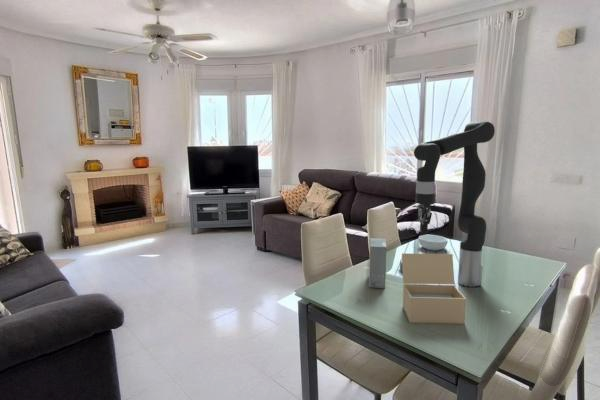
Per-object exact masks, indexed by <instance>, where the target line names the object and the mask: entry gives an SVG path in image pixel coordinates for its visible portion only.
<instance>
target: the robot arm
mask: <svg viewBox="0 0 600 400" xmlns="http://www.w3.org/2000/svg"><path fill="white" fill-rule="evenodd" d="M495 129H496V128H495V126H494V124H493V123H492V122H491V121H486V120H485V121H471V122H469V123H467V124H465V127H464V130H463V132H458V133H453V134H452V133H451V134H448V135H446V136H443V137H440V138H438V139H435V140H430V141H426V142H422V143H419V144H418V145H416V146H415V148H414V150H413V155H414V157H415V159H416V160H418V161H421V162H424V164H423V166H420V167H418V169H417V172H416V173H417V174H416V183H415V185H416V187H415V203H416V204H419V206H417V215H418V216H417V217H418V221H419V231H420V232H421V234H428V226H429V225H430V224H431V219H432V216H433V213H432V212H431V210H432V209H431V207H430V205H433V204H435V200H436V171H437V168H438V165H439V161H440V159H441V156H444V155H446V154H450V153H452V152H455V151H456V150H457V151H458V150H461V149H463V172H462V185H461V186H462V187H461V199H460V207H459V211H458V212H459V213H458V219H457V226H458V229H459V231H461V232H463V233H465V234H467V236H466V240H465V239H464V240H461V241H460V244H459V257H458V258H459V259H458V274H457V275H458V276H457V283H458V284H459V285H461V286H463V285H464V287H467V286H469V287H468V288H477V287H480V286H479V285H481V286H482V280H483V278H482V277H483V266H482V253H483V246H484V244H485V240H486V233H487V222H486V220H485V218H484V217H481V216H479V215H475V209H476V204H477V202H478V201H477V200H478V199H479V197H480V196H481V195H482V193H483V192H484V190H485V187H486V175H487V174H486V169H485V166H484V165H483V163H482V161H481V159H480V157H479V153H478V144H484V143H489V142H490V141H491V140H492V139H493V138H494V135H495V133H496V132H495V131H496V130H495ZM476 286H477V287H476Z"/></svg>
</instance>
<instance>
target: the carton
mask: <svg viewBox="0 0 600 400" xmlns="http://www.w3.org/2000/svg"><path fill="white" fill-rule="evenodd" d="M402 292H403V293H402V309H403V311H404V313H405V316H406V318H407V320H408V323H419V324H444V325H445V324H447V325H448V324H449V325H451V324H452V325H465V323H466V322H465V320H466V311H467V310H466V307H467V298H466V297H465V296H464V294H463V293H462V292H461V291H460V290H459V288H458V287H456V285H455V284H409V283H403V288H402Z"/></svg>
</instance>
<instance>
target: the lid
mask: <svg viewBox="0 0 600 400" xmlns="http://www.w3.org/2000/svg"><path fill="white" fill-rule="evenodd" d="M453 256H454V255H453V253H401V259H402V268H403V272H402V284H411V285H455V272H454V270H455V269H454V260H453V259H454V258H453Z"/></svg>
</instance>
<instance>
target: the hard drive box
mask: <svg viewBox="0 0 600 400" xmlns="http://www.w3.org/2000/svg"><path fill="white" fill-rule="evenodd" d="M368 267H369V268H368V287H369V288H377V289H386V279H387V270H386V269H387V242H386V238H373V237H371V238H369V265H368Z"/></svg>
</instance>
